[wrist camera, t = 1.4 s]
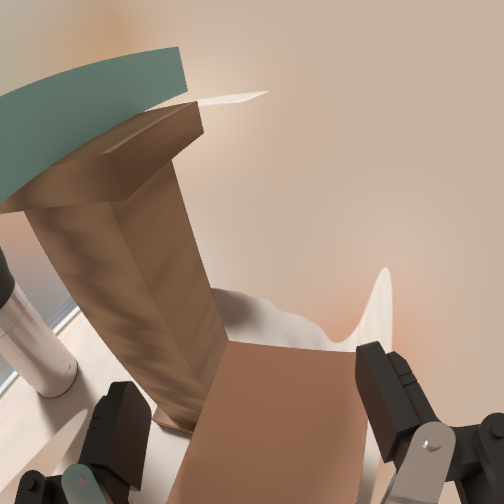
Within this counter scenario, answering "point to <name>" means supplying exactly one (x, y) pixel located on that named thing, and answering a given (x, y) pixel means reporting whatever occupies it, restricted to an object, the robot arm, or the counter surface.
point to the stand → (134, 256)
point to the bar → (79, 109)
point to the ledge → (276, 430)
